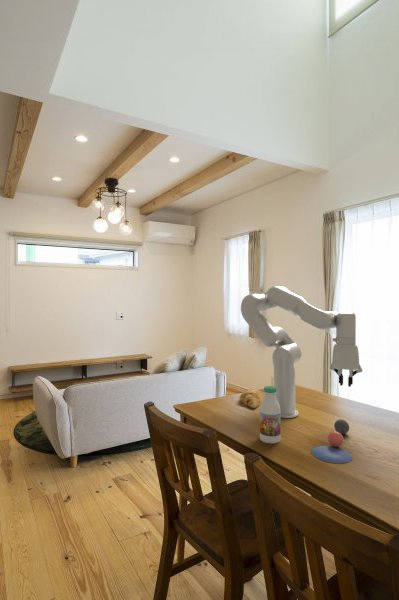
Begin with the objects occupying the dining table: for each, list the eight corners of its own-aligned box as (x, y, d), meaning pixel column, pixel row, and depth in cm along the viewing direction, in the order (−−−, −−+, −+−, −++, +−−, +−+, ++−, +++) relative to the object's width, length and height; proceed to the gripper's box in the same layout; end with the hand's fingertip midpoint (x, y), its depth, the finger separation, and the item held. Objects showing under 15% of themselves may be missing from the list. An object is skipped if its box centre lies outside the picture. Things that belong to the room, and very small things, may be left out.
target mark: (307, 457, 116) (307, 456, 116) (316, 443, 127) (316, 443, 127) (349, 467, 110) (349, 466, 110) (354, 451, 121) (354, 451, 121)
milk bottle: (257, 436, 134) (257, 384, 134) (276, 435, 135) (277, 384, 135) (262, 444, 127) (262, 390, 126) (283, 443, 127) (283, 389, 127)
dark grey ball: (334, 435, 135) (334, 421, 135) (333, 430, 140) (333, 416, 140) (350, 437, 133) (350, 422, 133) (348, 431, 139) (348, 418, 139)
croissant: (260, 416, 167) (268, 402, 167) (242, 407, 166) (250, 392, 166) (250, 402, 188) (256, 389, 188) (233, 394, 187) (240, 381, 187)
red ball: (327, 448, 123) (327, 433, 123) (326, 442, 128) (326, 427, 128) (344, 450, 121) (344, 435, 121) (342, 444, 127) (342, 429, 127)
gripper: (323, 341, 146) (323, 384, 146) (366, 343, 137) (365, 390, 138) (327, 339, 152) (327, 381, 152) (368, 341, 144) (367, 386, 144)
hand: (345, 385), depth 145 cm, fingers open, 2 cm apart
